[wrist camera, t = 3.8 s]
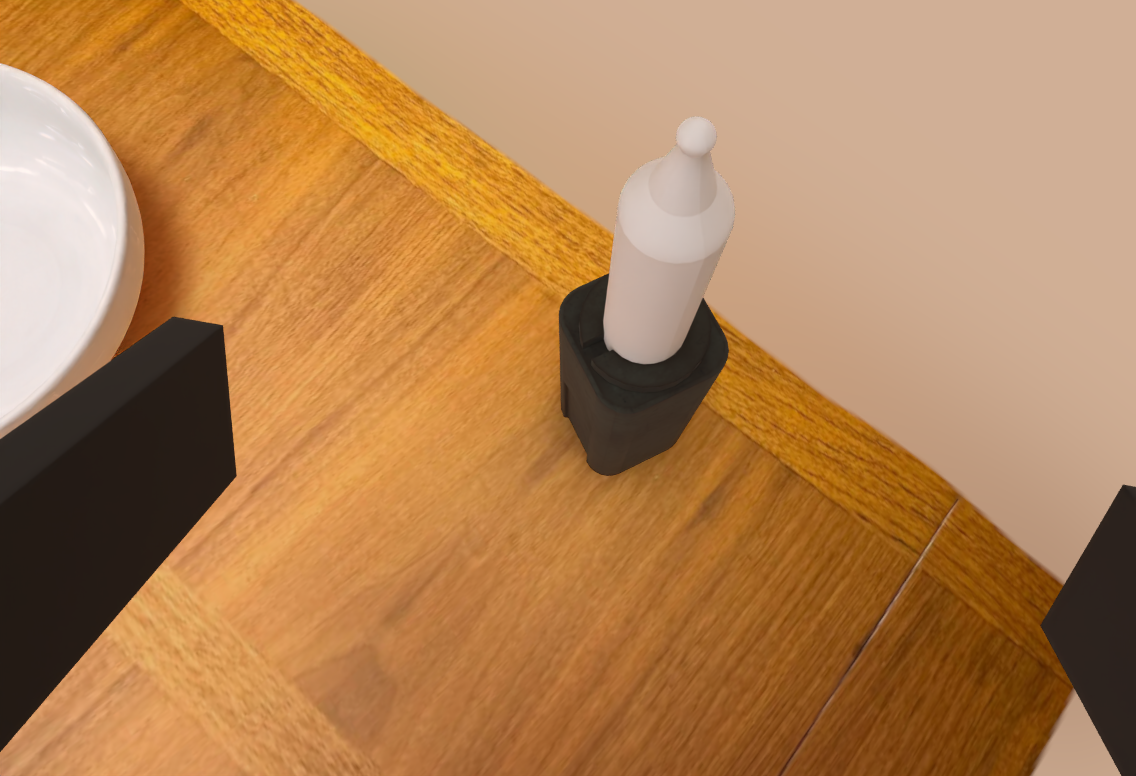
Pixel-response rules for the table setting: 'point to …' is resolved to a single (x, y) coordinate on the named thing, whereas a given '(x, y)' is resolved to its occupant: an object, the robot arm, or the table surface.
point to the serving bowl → (59, 247)
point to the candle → (649, 310)
